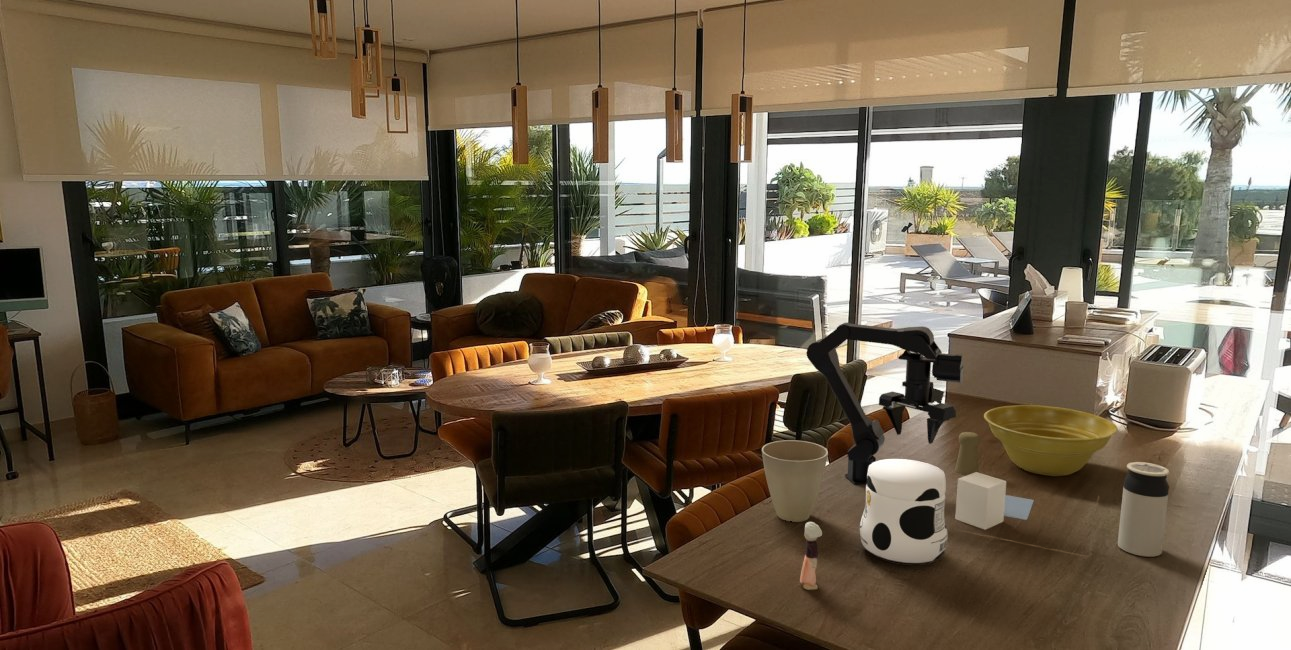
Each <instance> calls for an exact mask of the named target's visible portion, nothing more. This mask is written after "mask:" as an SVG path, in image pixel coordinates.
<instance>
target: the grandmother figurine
mask: <svg viewBox="0 0 1291 650" xmlns="http://www.w3.org/2000/svg"><path fill="white" fill-rule="evenodd" d="M822 535H823V531H822V529H821V528H820V526H819V525H818V524H816V523H815V522H814V521H808V522H806V523H805V525H804V538H805V539H806V540H805V544H804V546H805V555H804V559H803V562H802V566H801V570H800V578H799V582H800V584H803V585H802V587H803V589H805V590H809V591H810V590H811V591H812V590H813V591H814V590H818V588H819V586H818V584H817V576H816V569H817V566H818V565H817V564H818V556H819V548H818V544H817V543H818V542H817V539H818V538H820V537H821V536H822Z"/></svg>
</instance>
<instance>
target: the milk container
mask: <svg viewBox="0 0 1291 650" xmlns="http://www.w3.org/2000/svg"><path fill="white" fill-rule="evenodd" d="M946 490H947V482H946V475H945V472H944V470H942V469H941V468H939V467H938V466H936V465H933V464H931V463H927V462H922V461H919V460H914V459H905V458H887V459H880V460H876V462H873V463H872V464H870V465H869V467H868V473H867V483H866V485H865V505H864V510H863V513H862V516H861V519H860V523H859V536H860V541H861V544H862V546H863V547H864V549H865V550H866V551H867V552H868V553H869V554H871V555H873V556H875V557H876V558H878V559H880V560H883V561H886V562H889V563H892V564H898V565H904V566H920V565H921V566H922V565H928V564H930V563H933V562H935V561H937V560H939V559H941V557H942V556H943V555H944V554H945V551H946V547H947V544H948V528H947V523H946V520H945V519H946V518H945V504H946Z"/></svg>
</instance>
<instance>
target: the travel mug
mask: <svg viewBox="0 0 1291 650" xmlns="http://www.w3.org/2000/svg"><path fill="white" fill-rule="evenodd" d="M1126 468H1127V471H1128V474H1127V475H1126V476H1125V478H1123V487H1122V497H1121V498H1122V500H1121V507H1120V516H1119V518H1120V519H1119V526H1118V527H1119V528H1118V537H1117V545H1118V548H1120V549H1122V550H1123V551H1125V552H1126V553H1128V554H1130V555H1134V556H1139V557H1143V558H1147V557H1148V558H1153V557H1157V556H1160V555H1162V552H1163V545H1164V535H1165V526H1166V518H1167V517H1166V516H1167V509H1168V500H1169V490H1170V486H1169V483H1168V481H1167V477H1168V475H1169V474H1170V471H1169V469H1168V468H1166V467H1164V466H1161V465H1159V464H1156V463H1150V462H1144V461H1143V462H1142V461H1135V462H1134V461H1132V462H1129V463H1127V465H1126Z"/></svg>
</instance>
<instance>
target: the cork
mask: <svg viewBox="0 0 1291 650" xmlns="http://www.w3.org/2000/svg"><path fill="white" fill-rule="evenodd" d="M958 442H959V444H960V445H959V450H958V454H957V459H956V460H957V461H956V463H955V468H954V471H955V472H956V473H957V474H960V475H963V476H967V475H969V474H972V473H975V472H978V473H980V472H979V471H980V470H979V459H978V458H979V456H978V446H979V445H980V436H979V435H978V434H977V432H972V431H963V432H961V433H960V434H959V436H958Z"/></svg>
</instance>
